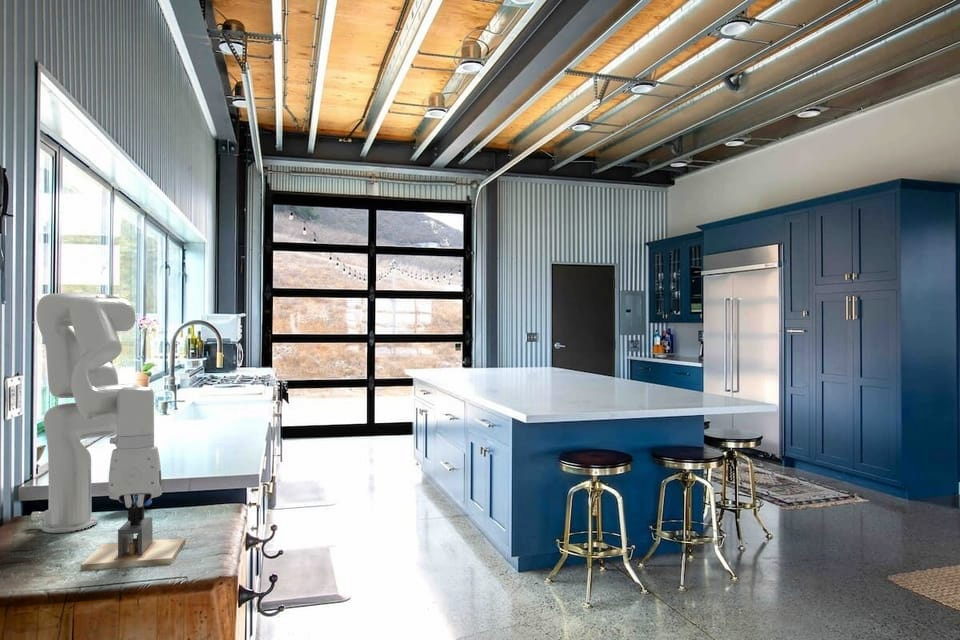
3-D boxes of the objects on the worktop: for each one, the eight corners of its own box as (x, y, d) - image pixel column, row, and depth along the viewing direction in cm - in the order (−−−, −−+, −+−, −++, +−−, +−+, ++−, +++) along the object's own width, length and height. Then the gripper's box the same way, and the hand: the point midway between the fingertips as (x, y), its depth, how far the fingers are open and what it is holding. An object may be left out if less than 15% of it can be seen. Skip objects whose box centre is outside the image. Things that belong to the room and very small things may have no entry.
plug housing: (118, 557, 149) (118, 530, 149) (130, 544, 158) (129, 518, 158) (141, 556, 150) (141, 528, 150) (152, 542, 159) (152, 517, 159)
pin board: (80, 570, 145) (80, 552, 145) (102, 548, 159) (102, 532, 159) (171, 563, 149) (171, 546, 149) (185, 543, 163) (185, 527, 163)
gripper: (93, 446, 149) (93, 531, 149) (167, 443, 152) (167, 526, 152) (104, 440, 156) (105, 521, 156) (175, 437, 159) (175, 516, 159)
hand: (136, 523), depth 154 cm, fingers closed
